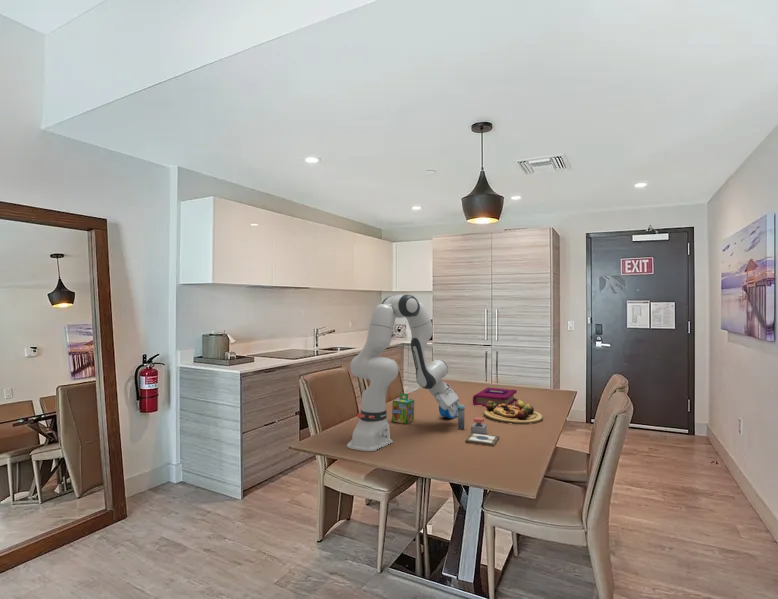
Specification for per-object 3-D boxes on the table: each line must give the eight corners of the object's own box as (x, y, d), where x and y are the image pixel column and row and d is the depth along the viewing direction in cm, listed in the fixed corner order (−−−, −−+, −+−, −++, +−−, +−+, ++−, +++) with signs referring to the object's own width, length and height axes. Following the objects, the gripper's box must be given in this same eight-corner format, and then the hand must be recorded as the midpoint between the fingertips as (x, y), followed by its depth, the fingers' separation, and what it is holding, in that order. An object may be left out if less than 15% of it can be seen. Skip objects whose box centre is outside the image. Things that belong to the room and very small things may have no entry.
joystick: (463, 430, 233) (463, 406, 233) (457, 429, 234) (457, 405, 234) (465, 428, 236) (465, 404, 236) (458, 427, 238) (458, 404, 238)
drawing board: (493, 446, 207) (493, 443, 207) (465, 442, 213) (465, 439, 213) (499, 438, 219) (499, 435, 219) (471, 435, 225) (471, 432, 225)
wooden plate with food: (472, 416, 261) (472, 402, 260) (502, 407, 283) (503, 393, 283) (523, 429, 238) (524, 413, 238) (552, 418, 260) (553, 403, 260)
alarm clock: (447, 420, 250) (448, 393, 250) (438, 419, 254) (438, 391, 254) (459, 416, 261) (459, 389, 261) (449, 414, 265) (449, 388, 265)
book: (472, 405, 288) (472, 393, 288) (485, 397, 313) (485, 386, 313) (506, 409, 279) (506, 397, 279) (517, 400, 303) (517, 389, 303)
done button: (482, 427, 225) (482, 419, 225) (473, 426, 226) (473, 418, 226) (483, 425, 228) (483, 417, 228) (475, 424, 230) (475, 417, 230)
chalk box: (391, 422, 247) (391, 394, 247) (399, 418, 255) (399, 391, 255) (407, 424, 243) (407, 396, 243) (414, 420, 251) (414, 393, 251)
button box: (483, 436, 223) (484, 427, 223) (470, 434, 226) (470, 426, 226) (486, 432, 229) (486, 424, 229) (473, 431, 231) (473, 423, 231)
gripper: (438, 390, 230) (457, 412, 226) (449, 383, 248) (467, 403, 245) (429, 398, 231) (448, 420, 228) (441, 391, 250) (459, 410, 246)
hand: (458, 411), depth 236 cm, fingers open, 8 cm apart
